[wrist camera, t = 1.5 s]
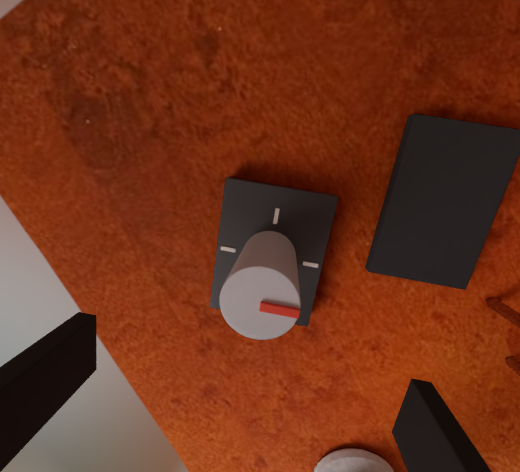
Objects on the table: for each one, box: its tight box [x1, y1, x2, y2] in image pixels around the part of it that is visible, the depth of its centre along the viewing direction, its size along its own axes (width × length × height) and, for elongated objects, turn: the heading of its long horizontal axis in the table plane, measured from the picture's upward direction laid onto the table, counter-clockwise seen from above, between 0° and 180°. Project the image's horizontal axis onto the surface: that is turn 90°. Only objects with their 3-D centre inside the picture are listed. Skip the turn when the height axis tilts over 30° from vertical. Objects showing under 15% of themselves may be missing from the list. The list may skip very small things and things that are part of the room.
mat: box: [366, 114, 520, 289], centre depth 24 cm, size 14×9×1 cm, turn 171°
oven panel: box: [210, 177, 339, 327], centre depth 26 cm, size 13×10×2 cm
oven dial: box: [220, 231, 301, 340], centre depth 21 cm, size 5×5×9 cm
